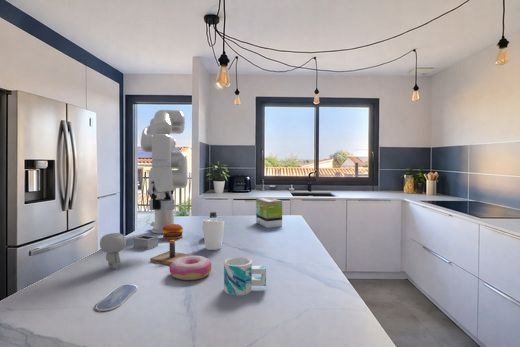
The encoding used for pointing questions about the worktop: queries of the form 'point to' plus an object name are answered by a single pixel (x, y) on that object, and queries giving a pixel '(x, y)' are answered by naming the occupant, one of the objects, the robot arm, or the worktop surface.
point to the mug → (242, 276)
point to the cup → (213, 233)
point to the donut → (190, 267)
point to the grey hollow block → (145, 242)
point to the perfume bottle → (213, 215)
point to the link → (163, 205)
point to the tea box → (269, 212)
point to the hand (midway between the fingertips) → (162, 207)
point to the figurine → (113, 248)
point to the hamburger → (172, 232)
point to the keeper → (168, 255)
